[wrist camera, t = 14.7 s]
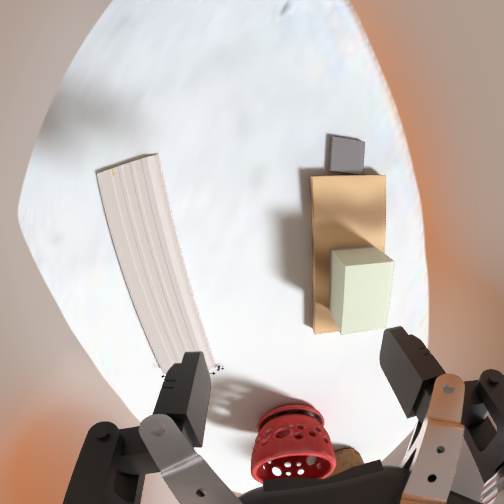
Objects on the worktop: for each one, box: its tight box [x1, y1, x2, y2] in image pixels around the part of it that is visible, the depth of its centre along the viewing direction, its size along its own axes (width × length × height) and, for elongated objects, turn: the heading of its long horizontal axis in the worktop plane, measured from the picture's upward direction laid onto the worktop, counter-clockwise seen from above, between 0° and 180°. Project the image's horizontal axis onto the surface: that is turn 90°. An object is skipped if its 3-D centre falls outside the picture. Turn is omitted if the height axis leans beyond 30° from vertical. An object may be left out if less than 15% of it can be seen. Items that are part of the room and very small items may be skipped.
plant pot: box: [251, 405, 336, 484], centre depth 37 cm, size 13×13×12 cm
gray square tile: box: [329, 137, 365, 175], centre depth 30 cm, size 4×4×1 cm
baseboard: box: [97, 154, 224, 377], centre depth 34 cm, size 30×3×10 cm
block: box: [315, 449, 364, 479], centre depth 39 cm, size 11×8×20 cm
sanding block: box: [329, 245, 394, 335], centre depth 30 cm, size 8×6×6 cm
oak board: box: [310, 175, 386, 334], centre depth 33 cm, size 20×9×2 cm, turn 5°
